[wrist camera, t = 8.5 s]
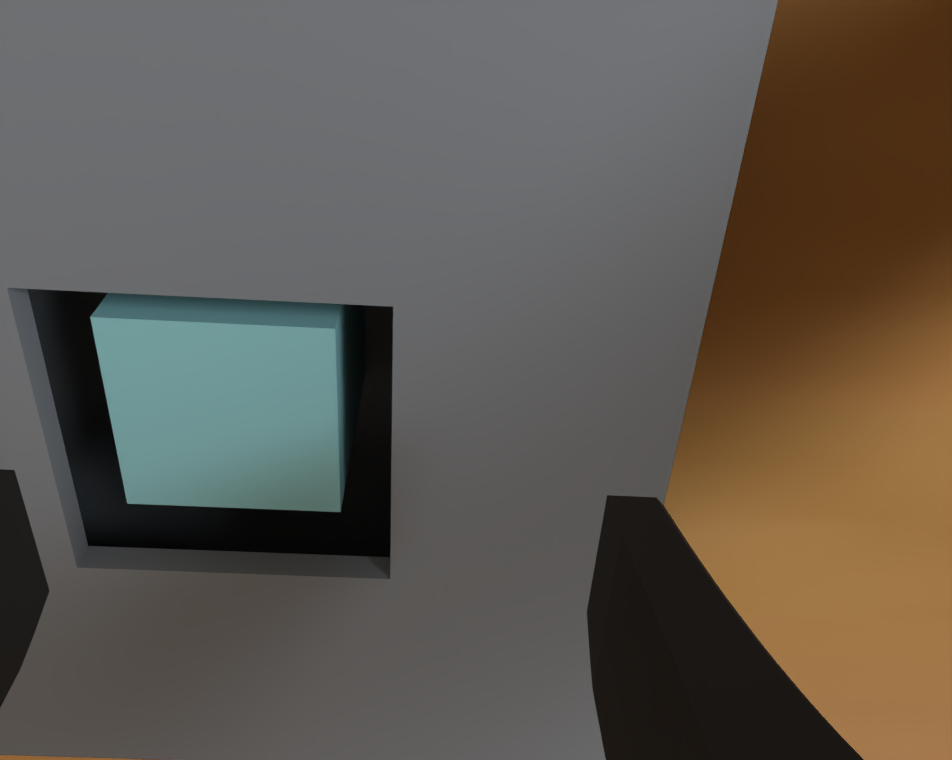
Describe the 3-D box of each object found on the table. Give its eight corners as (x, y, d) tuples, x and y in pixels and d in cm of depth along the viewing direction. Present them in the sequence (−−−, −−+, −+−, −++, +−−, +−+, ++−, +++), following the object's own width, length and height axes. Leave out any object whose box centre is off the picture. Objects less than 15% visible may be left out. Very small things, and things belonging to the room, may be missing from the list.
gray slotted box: (696, -131, 16) (800, -102, 11) (576, 583, 26) (602, 772, 21) (-215, -193, 15) (-543, -193, 10) (14, 562, 25) (-100, 752, 20)
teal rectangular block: (364, 213, 19) (335, 328, 15) (365, 371, 21) (340, 512, 17) (174, 203, 19) (89, 317, 15) (195, 363, 21) (126, 503, 17)
